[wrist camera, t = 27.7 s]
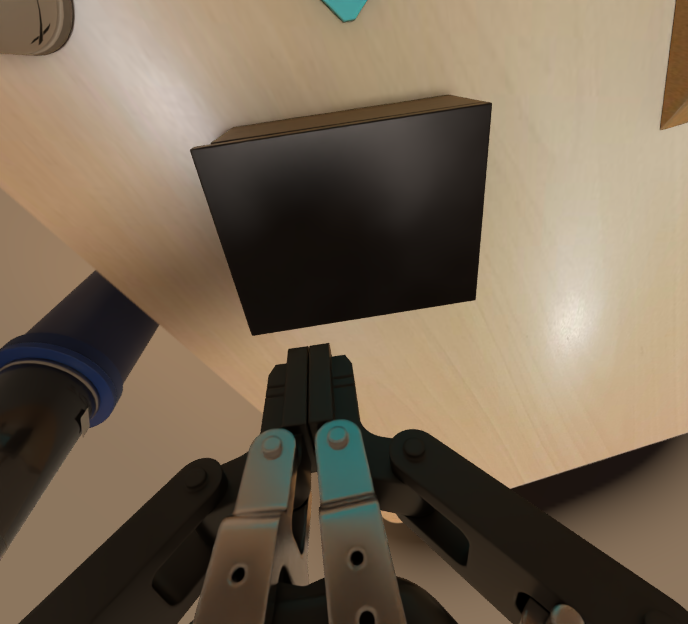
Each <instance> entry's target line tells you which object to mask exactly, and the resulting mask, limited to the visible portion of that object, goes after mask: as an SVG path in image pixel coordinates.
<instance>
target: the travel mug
mask: <svg viewBox="0 0 688 624" xmlns="http://www.w3.org/2000/svg"><path fill="white" fill-rule="evenodd" d="M72 19H73V17H72V4H71V0H0V54H15V55H34V56H37V55H47V54H49V53H52V52H55V51H56V50H57V49H59V48H60V47H61V46H62V45H63V44H64V43H65V41H66V40H67V38H68V36H69V33H70V31H71V26H72Z"/></svg>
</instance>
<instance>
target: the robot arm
mask: <svg viewBox="0 0 688 624" xmlns="http://www.w3.org/2000/svg"><path fill="white" fill-rule="evenodd" d="M99 407H100V395H99V393H98V391H97V389H96V387H95V386H94V384H93V383H92V382H91V381H90V380H89V379H88V378H87V377H86V376H84V375H83V374H82V373H80V372H79V371H77V370H75V369H74V368H72V367H70V366H67V365H65V364H62V363H60V362H56V361H53V360H49V359H43V358H21V359H17V360H13V361H11V362H9V363H7V364H6V365H4V366H3V367H2V368H1V369H0V560H1V558H2V557H3V555H4V554H5V552H6V550H7V549H8V547H9V546H10V544H11V543H12V541H13V539H14V538H15V536H16V534H17V533H18V532H19V530H20V529H21V527H22V525H23V524H24V522H25V521H26V519H27V518H28V516H29V515H30V513H31V511H32V510H33V508H34V507H35V505H36V504H37V502H38V501H39V499H40V498H41V496H42V494H43V493H44V491H45V490H46V488H47V487H48V485H49V484H50V482H51V480H52V479H53V477H54V476H55V474H56V473H57V471H58V470H59V468H60V467H61V465H62V463H63V462H64V460H65V459H66V457H67V455H68V454H69V452H70V451H71V449H72V448H73V446H74V445H75V443H76V442H77V440H78V439H79V437H80V436H81V434H83V437H84V435H85V433H86V432H87V430H88V429H89V427H90V423H89V422H90V420H91V419H92V418H93V417H94V416H95V414H96V413H97V411H98V409H99ZM313 472H318V482H319V492H320V503H321V504H320V507H319V520H320V532H321V541H322V542H321V543H322V554H323V565H324V575H325V578H323V579H320V580H318V581H316V582H314V583H311V584H309V574H308V564H307V557H308V544H309V531H310V518H311V504H312V492H311V473H313ZM380 510H382V511H387V512H392V513H396V514H397V516H398V517H399V519H400V520H401V521H402V522H403V523H405V524H406V525H407V526H408V527H409V528H410V529H411V530H412V531H413V532H414V533H415V534H417V536H419V537H420V538H421V539H422V540H423V541H424V542H425V543H426V544H427V545H428V546H429V547H430V548H431V549H433V550H434V551H435V552H436V553H437V554H438V555H439V556H440V557H441V558H442V559H443V560H445V561H446V562H447V563H448V564H449V565H450V566H451V567H452V568H453V569H454V570H455V571H456V572H457V573H459V574H460V575H461V576H462V577H463V578H464V579H465V580H466V581H467V582H468V583H469V584H470V585H471V586H473V587H474V588H475V589H476V590H477V591H478V592H479V593H480V594H481V595H482V596H483V597H485V599H487V600H488V601H489V602H490V603H491V604H492V605H493V606H494V607H495V608H496V609H497V610H498V611H500V612H501V613H502V614H503V615H504V616H505V617H506V618H507V619H508V620H509V621H511V623H513V624H688V611H686V610H685V609H684V608H683V607H682V606H681V605H680V604H678V603H677V602H675V601H674V600H673V599H671V598H670V597H668V596H667V595H665V594H664V593H663V592H661V591H660V590H658V589H657V588H655V587H654V586H652V585H651V584H649V583H648V582H646V581H645V580H643V579H642V578H640V577H639V576H638V575H636V574H634V573H633V572H632V571H630V570H629V569H627V568H625V567H624V566H623V565H621V564H620V563H618V562H617V561H615V560H614V559H613V558H611V557H609V556H608V555H607V554H605V553H604V552H602V551H601V550H599V549H598V548H596V547H595V546H593V545H592V544H590V543H589V542H587V541H586V540H585V539H583V538H581V537H580V536H579V535H577V534H576V533H574V532H573V531H571V530H570V529H568V528H567V527H565V526H564V525H562V524H561V523H559V522H558V521H557V520H555V519H554V518H552V517H551V516H549V515H548V514H546V513H545V512H543V511H542V510H540V509H539V508H537V507H536V506H534V505H533V504H531V503H530V502H529V501H527V500H526V499H524V498H523V497H521V496H520V495H518V494H517V493H515V492H514V491H512V490H511V489H509V488H508V487H506V486H505V485H504V484H502V483H501V482H499V481H498V480H496V479H495V478H493V477H492V476H490V475H489V474H487V473H486V472H484V471H483V470H481V469H480V468H478V467H477V466H476V465H474V464H473V463H471V462H470V461H468V460H467V459H465V458H464V457H462V456H461V455H459V454H458V453H456V452H455V451H453V450H452V449H450V448H449V447H448V446H446V445H445V444H443V443H442V442H440V441H439V440H437V439H436V438H434V437H433V436H431V435H430V434H428V433H426V432H424V431H421V430H416V429H409V430H405V431H402V432H400V433H398V434H397V435H395V436H394V437H393V438H386V437H380V436H376V435H374V434H372V433H370V432H368V431H367V430H366V429H365V428H364V427H363V425H362V424H361V422H360V416H359V408H358V401H357V394H356V387H355V381H354V374H353V367H352V363H351V362H350V361H349V359H348V358H347V357H346V356H345V355H340V356H333V357H332V355H331V349H330V345H329V343H326V344H319V345H312V346H309V347H308V346H306V347H299V348H292V349H288V356H287V363H286V364H279V365H275V367H274V368H273V370H272V371H271V373H270V374H269V377H268V384H267V391H266V398H265V405H264V412H263V419H262V426H261V433H260V435H259V436H258V437H256V438H255V439H254V441H253V442H252V444H251V446H250V448H249V451H248V452H247V453H245V454H244V455H242V456H240V457H238V458H236V459H234V460H231V461H229V462H227V463H225V464H222V465H220V464H219V462H217V461H216V460H214V459H211V458H202V459H198V460H195V461H193V462H191V463H189V464H188V465H186V466H185V467H184V468H183V469H181V471H179V472H178V473H177V474H176V475H175V476H174V477H173V478H172V479H171V480H170V481H169V482H168V483H167V484H166V485H165V486H163V487H162V488H161V489H160V491H158V492H157V493H156V494H155V495H154V496H153V497H152V498H151V499H150V500H149V501H148V502H147V503H146V504H144V506H142V507H141V508H140V509H139V510H138V511H137V512H136V513H135V514H134V515H133V516H132V517H131V518H130V519H129V520H128V521H126V522H125V523H124V524H123V525H122V526H121V527H120V528H119V529H118V530H117V531H116V532H115V533H114V534H113V535H112V536H111V537H110V538H109V539H107V541H106V542H105V543H103V544H102V545H101V546H100V547H99V548H98V549H97V550H96V551H95V552H94V553H93V554H92V555H91V556H89V558H87V559H86V560H85V561H84V562H83V563H82V564H81V565H80V566H79V567H78V568H77V569H76V570H75V571H74V572H73V573H72V574H71V575H70V576H68V577H67V578H66V579H65V580H64V581H63V582H62V583H61V584H60V585H59V586H58V587H57V588H56V589H55V590H54V591H52V592H51V593H50V595H48V596H47V597H46V598H45V599H44V600H43V601H42V602H41V603H40V604H39V605H38V606H37V607H36V608H35V609H33V610H32V611H31V612H30V613H29V614H28V615H27V616H26V617H25V618H24V619H23V620H22V621H21V622H20V623H19V624H177V623H178V622H179V621H180V619H181V618H182V617H183V616H184V614H185V613H186V612H187V611H188V610H189V608H190V607H191V606H192V605H193V603H194V602H195V600H196V599H197V598H198V597H199V596H200V598H199V602H198V606H197V609H196V613H195V617H194V620H193V621H192V622H190V624H458V623H457V622H456V621H455V620H454V619H453V617H452V616H451V615H450V614H449V613H448V612H447V611H446V610H445V609H444V607H442V605H441V604H440V603H439V602H438V601H437V600H436V599H435V598H434V597H432V595H430V594H429V593H428V592H427V591H426V590H424V589H423V588H421V587H420V586H418V585H417V584H415V583H413V582H411V581H409V580H407V579H404V578H401V577H397V576H396V575H395V570H394V566H393V562H392V558H391V554H390V549H389V545H388V541H387V537H386V532H385V528H384V524H383V519H382V515H381V511H380ZM200 594H201V595H200Z"/></svg>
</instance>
